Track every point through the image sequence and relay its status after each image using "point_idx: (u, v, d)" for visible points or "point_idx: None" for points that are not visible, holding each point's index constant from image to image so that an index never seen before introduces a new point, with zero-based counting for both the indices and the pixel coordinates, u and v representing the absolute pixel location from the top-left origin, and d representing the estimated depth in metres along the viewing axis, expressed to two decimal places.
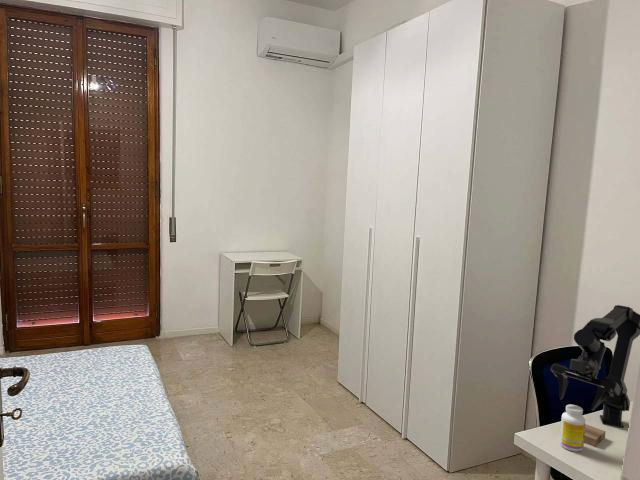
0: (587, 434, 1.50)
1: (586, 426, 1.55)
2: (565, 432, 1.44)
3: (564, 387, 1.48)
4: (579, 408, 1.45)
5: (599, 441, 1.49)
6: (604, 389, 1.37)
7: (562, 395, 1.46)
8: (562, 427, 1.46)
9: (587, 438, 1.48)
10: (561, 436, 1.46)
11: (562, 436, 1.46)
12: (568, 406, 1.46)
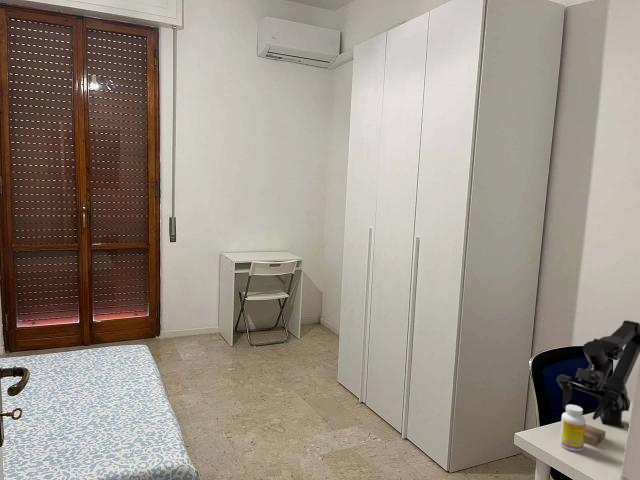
0: (587, 434, 1.50)
1: (586, 426, 1.55)
2: (565, 432, 1.44)
3: (568, 397, 1.52)
4: (579, 408, 1.45)
5: (599, 441, 1.49)
6: (607, 399, 1.42)
7: (565, 404, 1.51)
8: (562, 427, 1.46)
9: (587, 438, 1.48)
10: (561, 436, 1.46)
11: (562, 436, 1.46)
12: (568, 406, 1.46)
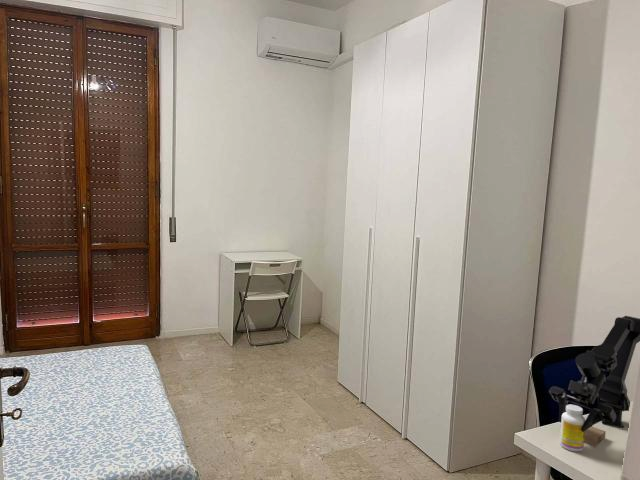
0: (587, 434, 1.50)
1: None
2: (565, 432, 1.44)
3: (564, 411, 1.49)
4: (579, 408, 1.45)
5: (599, 441, 1.49)
6: (596, 411, 1.41)
7: None
8: (562, 427, 1.46)
9: (587, 438, 1.48)
10: (561, 436, 1.46)
11: (562, 436, 1.46)
12: (568, 406, 1.46)
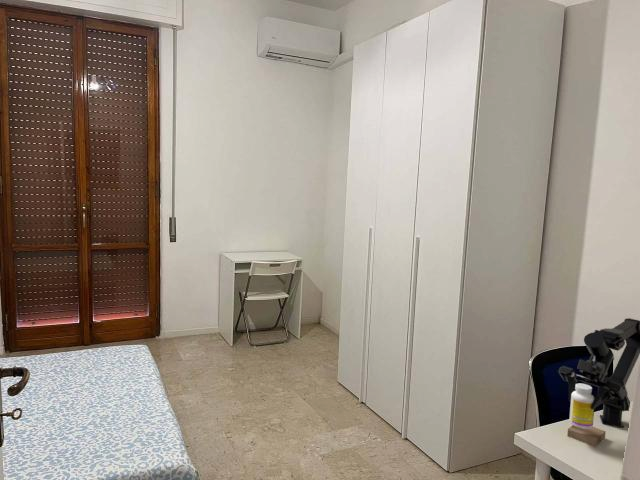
0: (587, 434, 1.50)
1: None
2: (575, 410, 1.47)
3: (573, 390, 1.52)
4: (588, 386, 1.47)
5: (599, 441, 1.49)
6: (605, 389, 1.44)
7: None
8: (572, 405, 1.48)
9: (587, 438, 1.48)
10: (571, 414, 1.49)
11: (572, 415, 1.48)
12: (577, 385, 1.48)
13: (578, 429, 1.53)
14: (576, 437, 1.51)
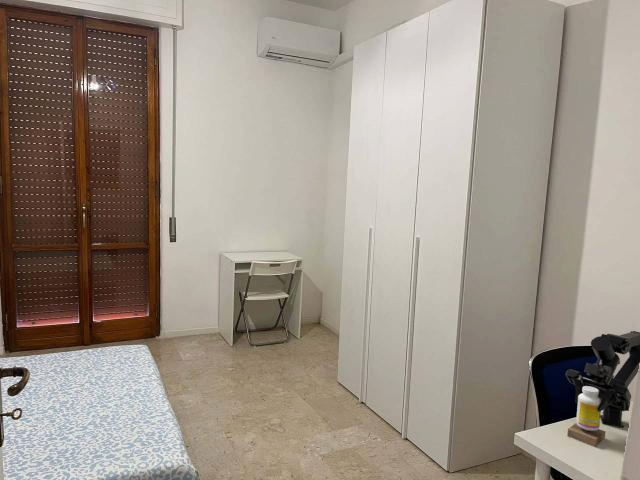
0: (587, 434, 1.50)
1: None
2: (582, 412, 1.50)
3: (580, 392, 1.55)
4: (595, 389, 1.51)
5: (599, 441, 1.49)
6: (612, 391, 1.47)
7: None
8: (579, 408, 1.51)
9: (587, 438, 1.48)
10: (578, 416, 1.52)
11: (578, 417, 1.51)
12: (584, 387, 1.52)
13: (578, 429, 1.53)
14: (576, 437, 1.51)
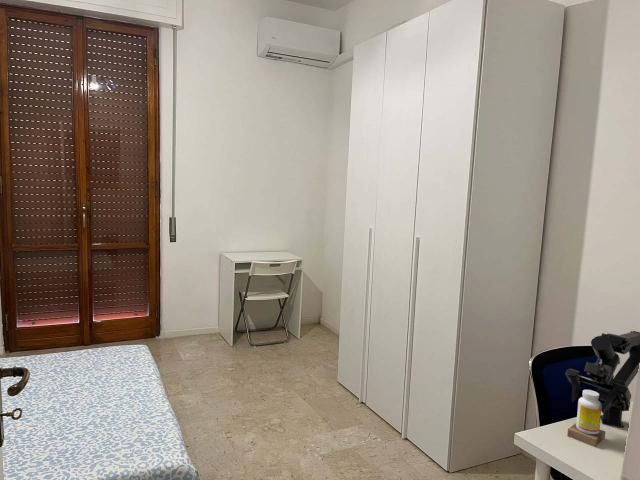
0: (587, 434, 1.50)
1: None
2: (582, 415, 1.50)
3: (577, 391, 1.56)
4: (595, 393, 1.51)
5: (599, 441, 1.49)
6: (616, 392, 1.46)
7: (574, 397, 1.55)
8: (579, 411, 1.52)
9: (587, 438, 1.48)
10: (578, 420, 1.52)
11: (579, 420, 1.51)
12: (585, 391, 1.52)
13: None
14: (576, 437, 1.51)
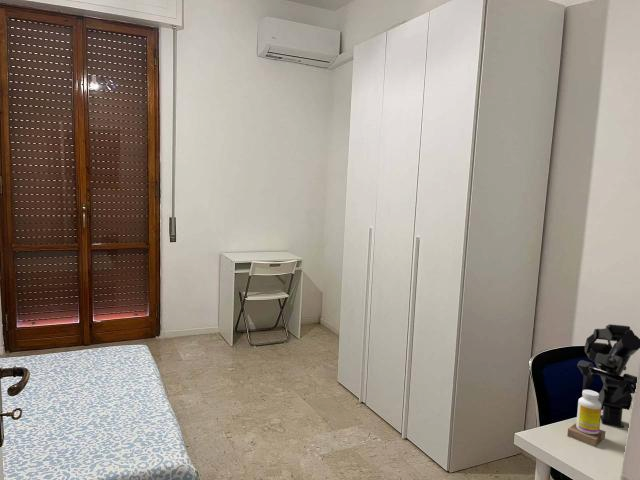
0: (587, 434, 1.50)
1: None
2: (582, 415, 1.50)
3: (588, 382, 1.58)
4: (595, 393, 1.51)
5: (599, 441, 1.49)
6: (625, 382, 1.48)
7: (585, 388, 1.57)
8: (579, 411, 1.52)
9: (587, 438, 1.48)
10: (578, 420, 1.52)
11: (578, 420, 1.51)
12: (584, 391, 1.52)
13: None
14: (576, 437, 1.51)
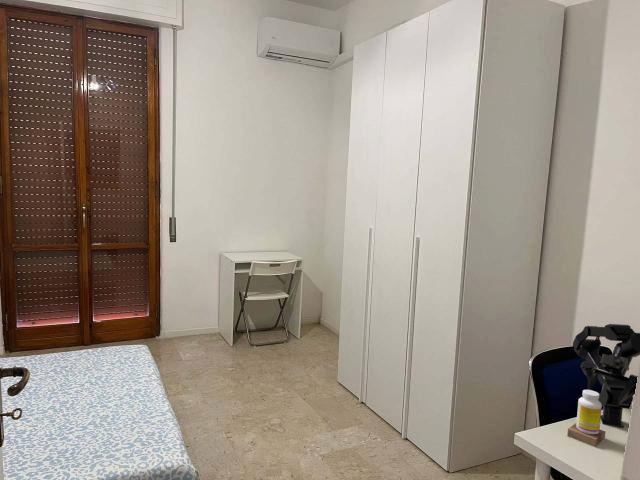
0: (587, 434, 1.50)
1: None
2: (582, 415, 1.50)
3: (592, 383, 1.57)
4: (595, 393, 1.51)
5: (599, 441, 1.49)
6: (632, 384, 1.47)
7: (590, 389, 1.55)
8: (579, 411, 1.52)
9: (587, 438, 1.48)
10: (578, 420, 1.52)
11: (579, 420, 1.51)
12: (585, 391, 1.52)
13: None
14: (576, 437, 1.51)
